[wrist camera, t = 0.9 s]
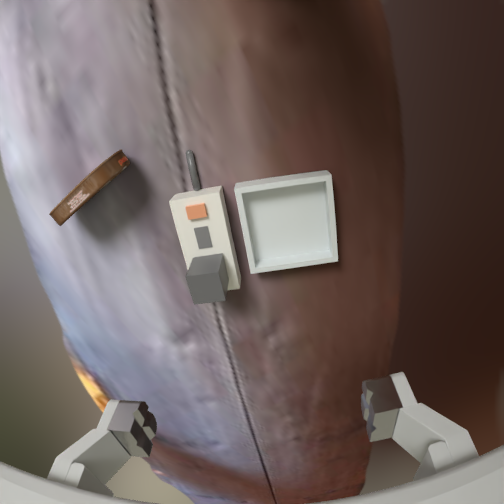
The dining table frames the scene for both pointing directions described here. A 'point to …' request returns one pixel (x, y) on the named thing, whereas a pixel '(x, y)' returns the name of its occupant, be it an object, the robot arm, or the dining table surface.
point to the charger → (208, 279)
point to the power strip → (205, 224)
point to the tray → (288, 221)
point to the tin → (90, 186)
